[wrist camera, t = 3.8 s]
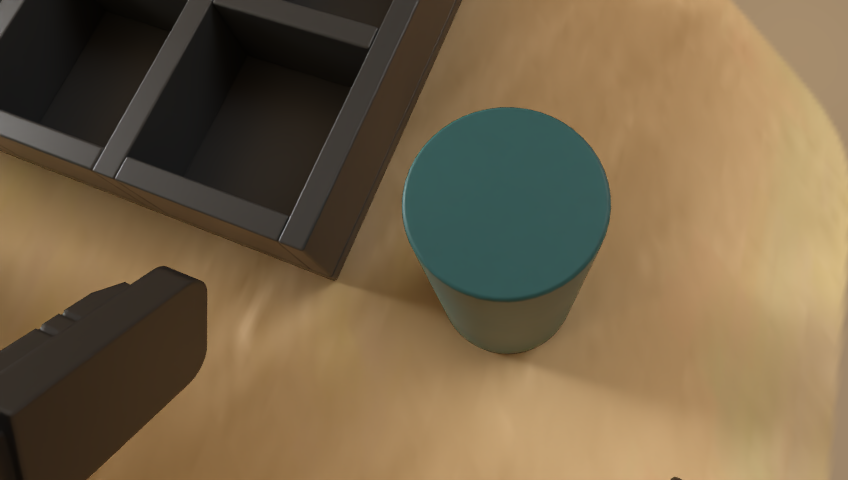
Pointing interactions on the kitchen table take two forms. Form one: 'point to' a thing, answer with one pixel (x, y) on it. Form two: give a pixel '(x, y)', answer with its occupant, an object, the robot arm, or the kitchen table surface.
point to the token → (506, 223)
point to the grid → (222, 107)
